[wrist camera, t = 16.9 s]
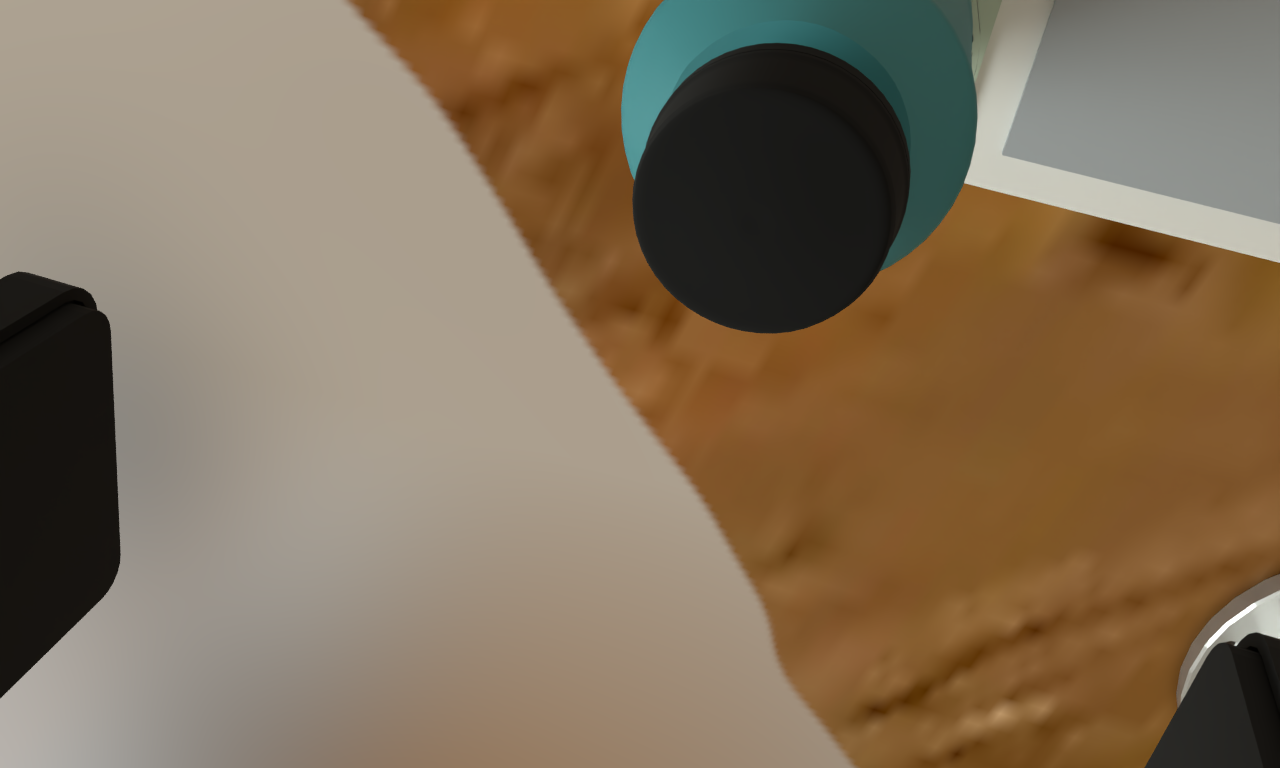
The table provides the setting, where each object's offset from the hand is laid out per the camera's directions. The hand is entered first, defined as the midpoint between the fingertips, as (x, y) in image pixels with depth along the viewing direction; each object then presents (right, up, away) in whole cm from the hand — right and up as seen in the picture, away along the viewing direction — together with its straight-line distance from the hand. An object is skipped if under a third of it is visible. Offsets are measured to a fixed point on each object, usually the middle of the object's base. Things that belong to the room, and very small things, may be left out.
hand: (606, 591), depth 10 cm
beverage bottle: (+6, +14, +24) cm, 29 cm away
